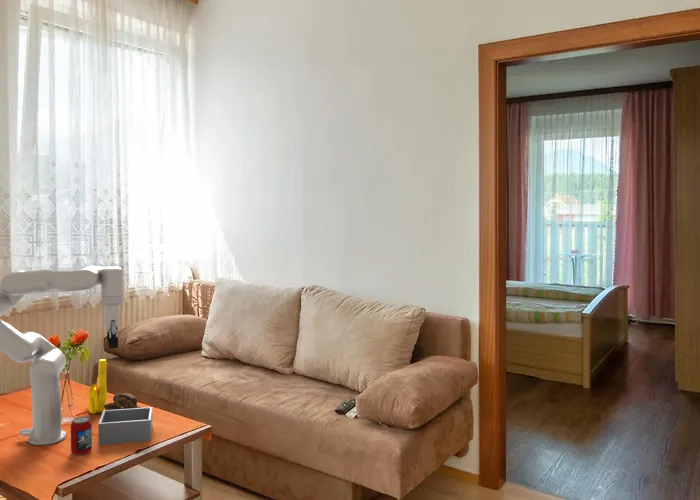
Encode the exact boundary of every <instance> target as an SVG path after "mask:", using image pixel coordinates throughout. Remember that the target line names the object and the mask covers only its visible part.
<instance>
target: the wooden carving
mask: <svg viewBox="0 0 700 500" xmlns="http://www.w3.org/2000/svg"><path fill="white" fill-rule="evenodd" d="M104 407H105V410H117V409H132V408H143V407H142V406H138V397H137V396H134V395H133V394H130V393H127V392H125V393H120V394H118V393H116V394H115V395H114V396H113V398H112V401H111V402H108V403H106V404H105V405H104Z"/></svg>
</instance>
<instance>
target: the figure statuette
mask: <svg viewBox="0 0 700 500" xmlns="http://www.w3.org/2000/svg"><path fill="white" fill-rule="evenodd" d="M107 368H108V362H107V360H106V358H105V359H99V360H98V375H97V379H96V383H92V385H90V387H89V388H88V392H87V393H86V394H87V397H88V403H87V409H88V412H89V413H90V414H98V413H101V414H102V413H103V410H105V407H104V405H106V404H107V400H108V391H107Z"/></svg>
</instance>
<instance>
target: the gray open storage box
mask: <svg viewBox="0 0 700 500" xmlns="http://www.w3.org/2000/svg"><path fill="white" fill-rule="evenodd" d="M97 427H98V430H97V431H98V446H103V445H106V446H107V445H117V444H126V443H127V444H129V443H130V444H131V443H137V442H138V443H140V442H141V443H142V442H151V439H152V433H153V432H152V431H153V406H151V407H150V406H149V407H142V408H132V409H117V410H103V412H101V417H100V419H99V421H98V425H97Z"/></svg>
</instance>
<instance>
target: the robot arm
mask: <svg viewBox="0 0 700 500" xmlns="http://www.w3.org/2000/svg"><path fill="white" fill-rule="evenodd" d="M123 273H124V271H123V269H122V268H121V267H119V266H105V267H103V266H99V265H98V266H97V265H89V266H86V267H83V268H82V269H81V268H80V269H74V270H60V271H59V270H54V269H50V268H48V269H47V268H46V269H37V270H36V269H35V270H24V269H21V270H20V269H19V270H14V271H11V272H8V273H6V274H5V275H4V276H3V277H2V278H1V279H0V317H2V316H4V315H6V314H7V313H8V312H10V311H12V309H13V308H14V307H15V306H16V305H17V304H18V302H20V301H21V299H23V298H24V297H25V296H27V295H34V294H44V293H45V294H46V293H63V292H65V293H66V292H67V293H68V292H76V291H84V290H85V291H86V290H90V289H93V288H95V286H100V288H101V289H100V291H101V292H100V293H101V294H100V295H101V296H100V300H101V301H100V302H101V303H100V304H101V305H102V306H103V329H104V332H106V342H107V343H108V348H109V349H118V348H119V336H118V334H119V333H118V331H119V330H120V321H121V320H120V319H121V317H120V314H121V313H120V311H121V310H120V308H121V306H120V305H123V304H124V299H123V298H124V291H123V290H124V283H123V282H124V280H123V278H124V277H123V276H124V274H123ZM0 351H1V352H2V353H4V354H5V355H6V356H8V358H10V359H11V360H12V361H15V362H16V363H19V364H21V363H23V364H24V363H26V362H29V361H31V362H32V364H31V366H30V369H29V379H30V387H31V405H32V407H31V410H32V412H31V413H32V415H31V416H32V427H29V428H21V429H20V430H19V435H21V436H22V437H28V438H27V441H28V443H29V444H30V445H32V446H33V445H34V446H46V445H52V444H55V443H59V442H61V441H63V440H65V438H66V437H67V432H66V431H65V430H63V429H62V389H61V387H62V386H61V380H60V374H61V372H62V371H63V370H64V368H65V367H66V364H67V357H66V355H65V354H64V353H63V351H61V350H60V349H59V348H58V347H56V346H55V345H54V344H52V343H51V342H50V341H49V340H47V338H46V337H43V336H42V335H41V334H39V333H36V332H33V331H26V332H20V331H18V329H16V328H15V327H13V326H12V325H11V324H9V323H8V322H5V321H4V320H2V319H1V318H0Z"/></svg>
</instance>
